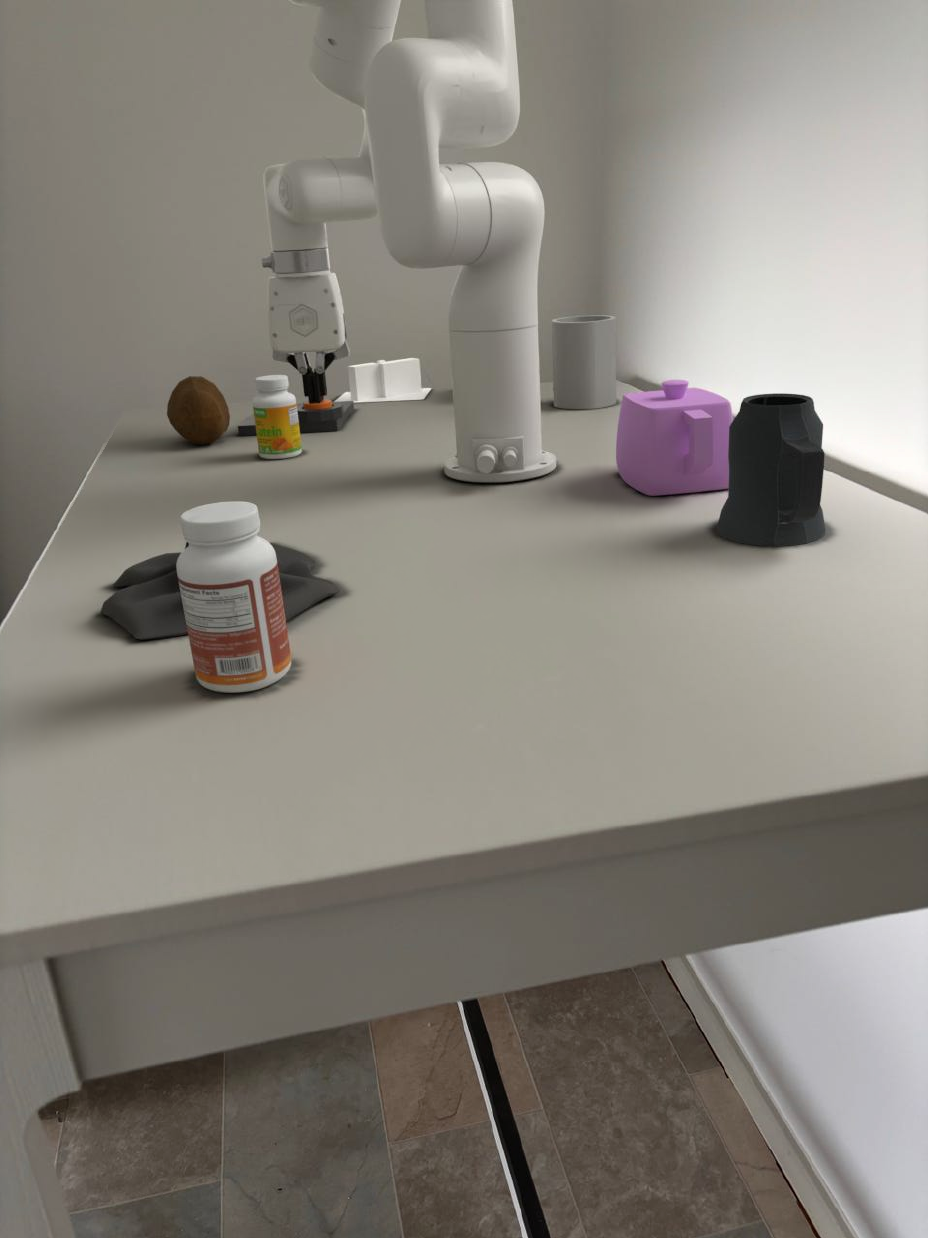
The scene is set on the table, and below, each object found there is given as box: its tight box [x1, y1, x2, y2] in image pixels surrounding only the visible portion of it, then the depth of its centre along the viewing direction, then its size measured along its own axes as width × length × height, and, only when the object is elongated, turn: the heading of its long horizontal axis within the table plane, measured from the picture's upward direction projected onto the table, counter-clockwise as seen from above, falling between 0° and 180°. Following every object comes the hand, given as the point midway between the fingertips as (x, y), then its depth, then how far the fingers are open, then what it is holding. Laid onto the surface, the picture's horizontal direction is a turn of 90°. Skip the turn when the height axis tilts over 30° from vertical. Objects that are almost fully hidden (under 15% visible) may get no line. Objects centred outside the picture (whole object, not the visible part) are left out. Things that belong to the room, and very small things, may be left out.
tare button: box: [302, 398, 333, 410], centre depth 144 cm, size 4×4×2 cm
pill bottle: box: [176, 500, 292, 694], centre depth 64 cm, size 6×6×11 cm
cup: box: [550, 314, 617, 410], centre depth 148 cm, size 9×9×12 cm
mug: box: [715, 392, 826, 547], centre depth 85 cm, size 12×9×11 cm
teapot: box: [615, 379, 734, 497], centre depth 104 cm, size 18×10×10 cm, turn 8°
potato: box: [166, 375, 231, 445], centre depth 139 cm, size 8×12×9 cm
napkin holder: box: [333, 357, 432, 404], centre depth 167 cm, size 15×11×6 cm
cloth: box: [100, 541, 340, 641], centre depth 81 cm, size 22×19×6 cm
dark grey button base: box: [237, 401, 355, 437], centre depth 149 cm, size 16×14×3 cm
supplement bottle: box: [252, 374, 303, 460], centre depth 128 cm, size 5×5×10 cm
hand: (316, 401), depth 144 cm, fingers closed
